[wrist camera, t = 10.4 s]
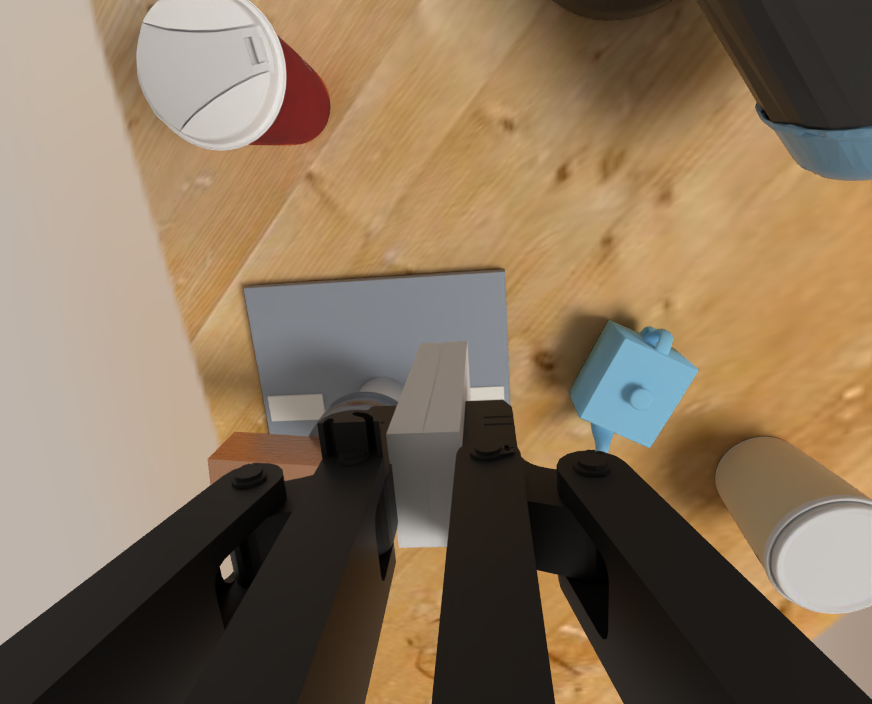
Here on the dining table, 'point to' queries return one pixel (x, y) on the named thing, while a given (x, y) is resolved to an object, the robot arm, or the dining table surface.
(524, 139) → the dining table surface
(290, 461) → the t handle
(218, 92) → the coffee cup
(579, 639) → the dining table surface
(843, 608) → the coffee cup
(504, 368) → the striped base plate
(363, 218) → the dining table surface
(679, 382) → the teapot
